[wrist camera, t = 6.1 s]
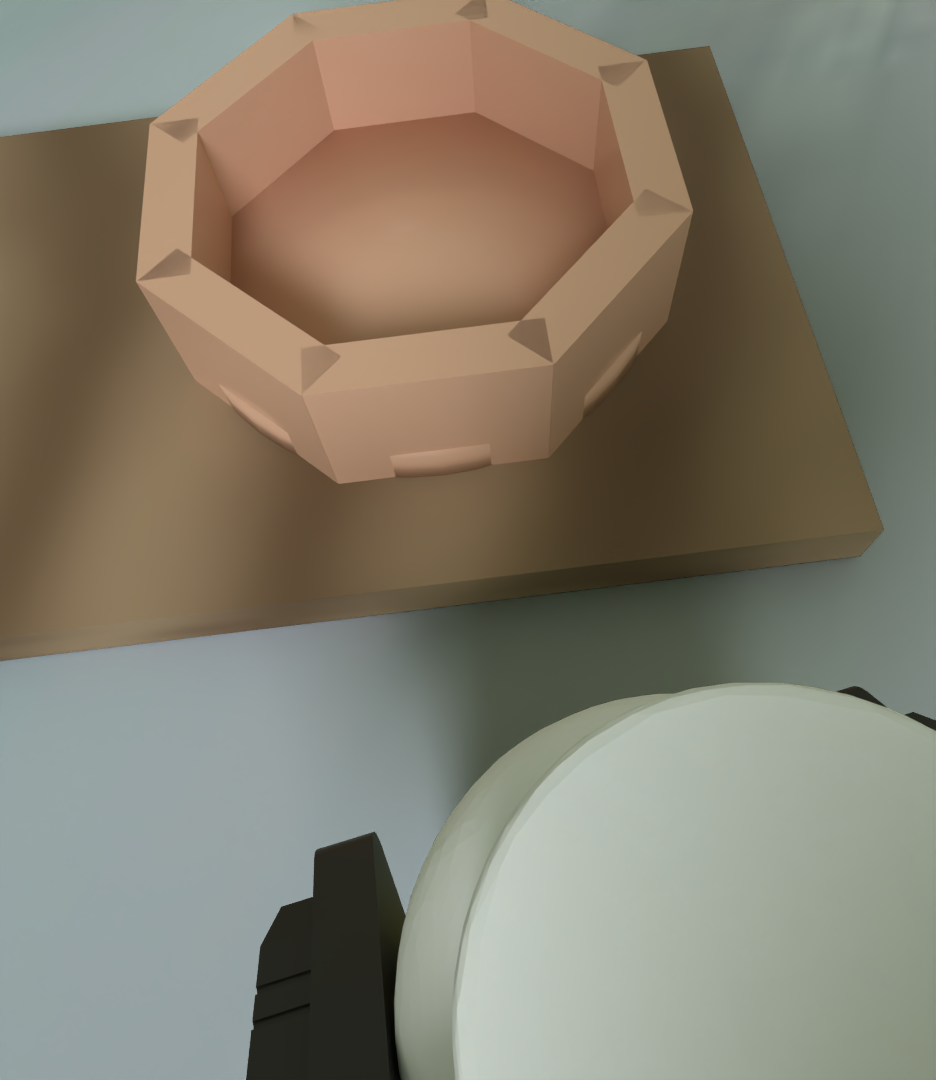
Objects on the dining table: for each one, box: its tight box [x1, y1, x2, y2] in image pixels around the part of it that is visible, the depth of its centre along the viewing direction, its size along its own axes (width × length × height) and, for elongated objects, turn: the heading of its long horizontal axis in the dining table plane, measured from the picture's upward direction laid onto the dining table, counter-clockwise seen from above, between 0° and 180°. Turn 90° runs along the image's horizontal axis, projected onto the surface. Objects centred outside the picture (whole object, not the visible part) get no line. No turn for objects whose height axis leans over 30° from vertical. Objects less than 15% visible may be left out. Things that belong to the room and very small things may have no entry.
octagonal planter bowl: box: [136, 0, 693, 484], centre depth 17 cm, size 10×10×3 cm
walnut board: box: [0, 46, 884, 661], centre depth 19 cm, size 20×14×1 cm
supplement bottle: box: [394, 683, 936, 1080], centre depth 9 cm, size 5×5×10 cm
